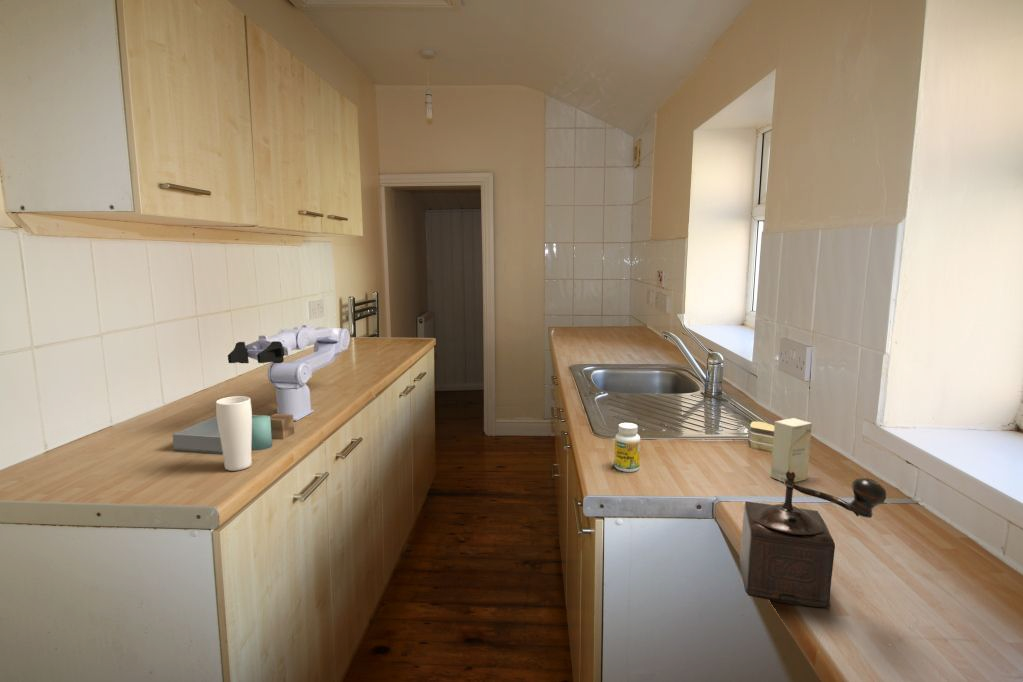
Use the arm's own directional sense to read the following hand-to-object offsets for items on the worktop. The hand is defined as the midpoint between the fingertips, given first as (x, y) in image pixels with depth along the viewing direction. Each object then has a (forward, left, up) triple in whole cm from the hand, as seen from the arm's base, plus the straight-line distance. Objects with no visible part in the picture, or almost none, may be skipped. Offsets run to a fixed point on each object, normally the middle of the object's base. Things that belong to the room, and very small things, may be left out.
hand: (244, 359), depth 133 cm
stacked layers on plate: (-17, +124, -21) cm, 127 cm away
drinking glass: (+16, +8, -21) cm, 28 cm away
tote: (+1, -6, -20) cm, 21 cm away
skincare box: (+2, +124, -21) cm, 126 cm away
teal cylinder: (+4, +5, -20) cm, 22 cm away
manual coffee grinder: (+42, +114, -21) cm, 123 cm away
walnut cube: (-4, +5, -21) cm, 22 cm away
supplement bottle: (+2, +91, -21) cm, 94 cm away
